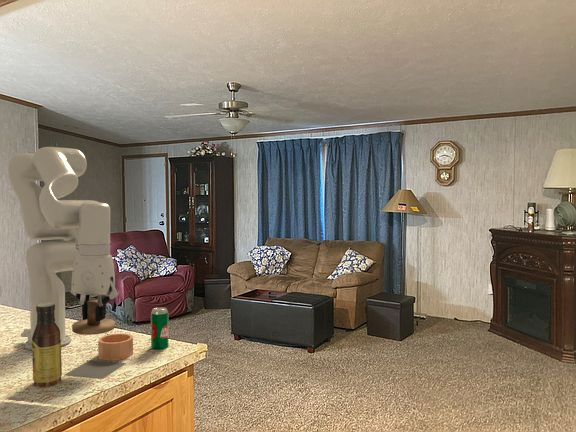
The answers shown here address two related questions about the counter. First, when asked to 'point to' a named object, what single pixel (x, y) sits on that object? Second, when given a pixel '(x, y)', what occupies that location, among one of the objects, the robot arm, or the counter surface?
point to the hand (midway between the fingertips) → (93, 318)
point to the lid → (92, 322)
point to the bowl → (115, 346)
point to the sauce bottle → (46, 348)
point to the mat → (95, 369)
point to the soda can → (159, 328)
